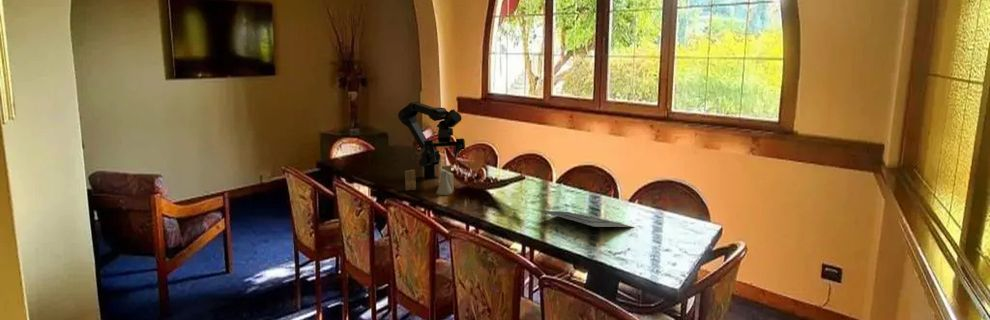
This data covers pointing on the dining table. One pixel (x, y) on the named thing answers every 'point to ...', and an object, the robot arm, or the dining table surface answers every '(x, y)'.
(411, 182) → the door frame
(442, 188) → the flask
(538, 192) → the dining table surface
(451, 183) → the door
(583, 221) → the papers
